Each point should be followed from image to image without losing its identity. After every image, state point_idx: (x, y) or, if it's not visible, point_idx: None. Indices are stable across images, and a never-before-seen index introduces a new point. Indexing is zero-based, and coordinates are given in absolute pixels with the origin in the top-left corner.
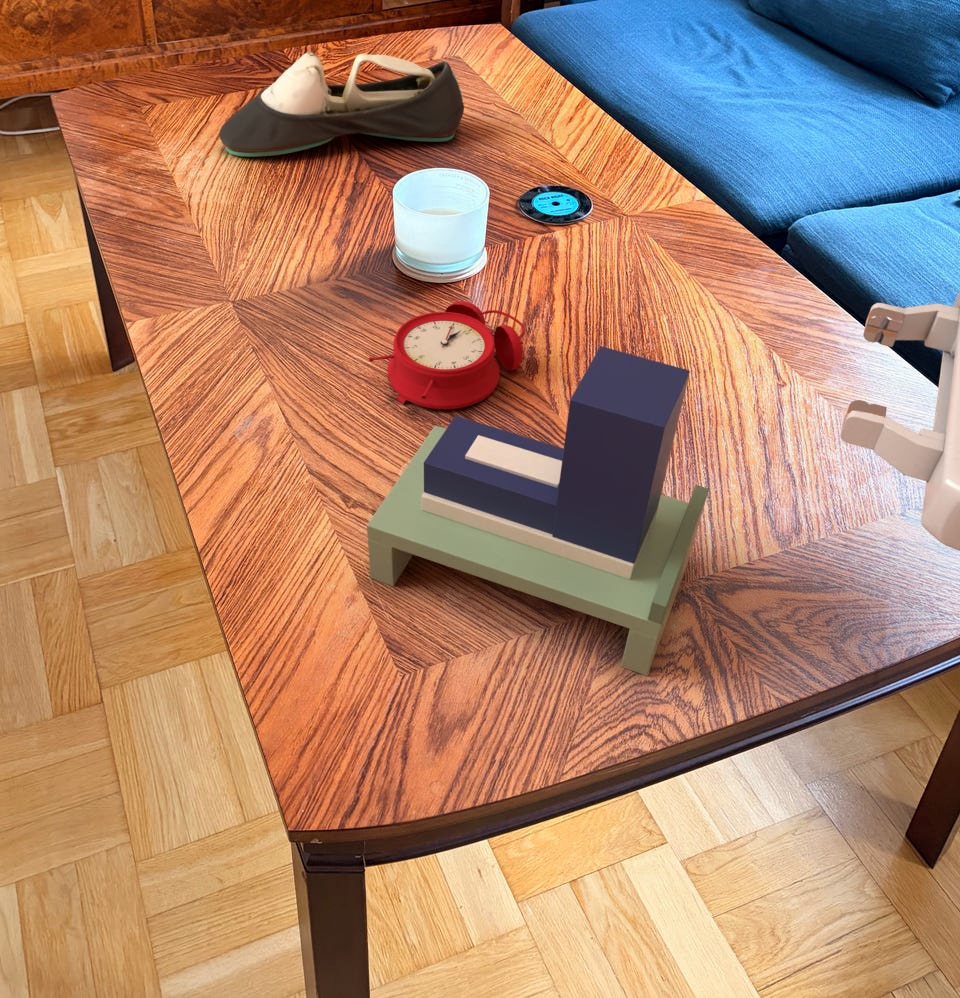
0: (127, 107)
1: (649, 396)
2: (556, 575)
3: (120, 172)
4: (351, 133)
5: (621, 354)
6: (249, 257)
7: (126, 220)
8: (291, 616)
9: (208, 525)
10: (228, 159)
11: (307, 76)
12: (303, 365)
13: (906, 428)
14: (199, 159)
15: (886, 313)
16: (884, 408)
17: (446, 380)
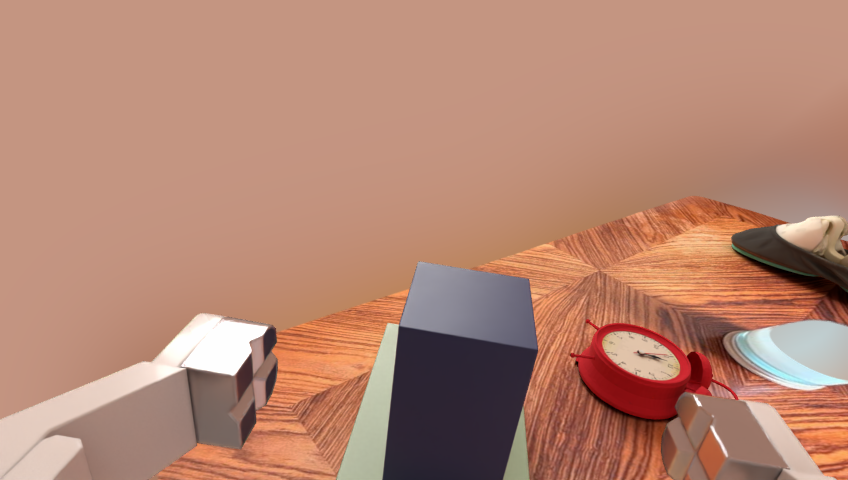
0: (716, 211)
1: (456, 314)
2: (364, 452)
3: (660, 219)
4: (826, 278)
5: (524, 292)
6: (647, 270)
7: (625, 227)
8: (337, 340)
9: (403, 295)
10: (726, 247)
11: (817, 223)
12: (570, 307)
13: (106, 405)
14: (710, 238)
15: (732, 417)
16: (229, 371)
17: (601, 364)
